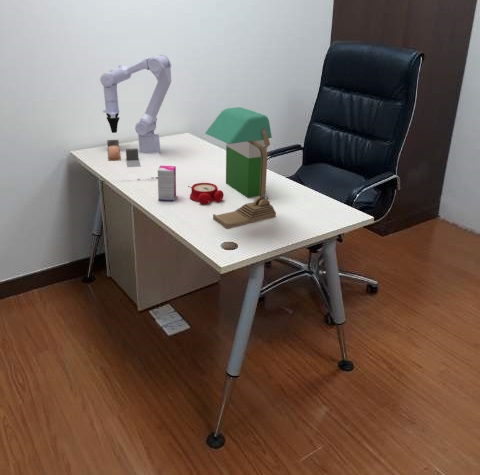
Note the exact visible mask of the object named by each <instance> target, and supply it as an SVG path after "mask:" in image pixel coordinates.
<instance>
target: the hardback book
mask: <svg viewBox="0 0 480 475" xmlns="http://www.w3.org/2000/svg"><path fill="white" fill-rule="evenodd" d="M254 141H256V142H257V143H259V144H260V145H262V146H263V147H264V146H265V143H264V139H261V140H254ZM225 152H226V153H225V158H226V159H225V184H226V185H227V186H229V187H230V188H232V189H234V190H235V191H237V192H238V193H239V194H241V195H242V196H244V197H245V198H247V199H250V198H255V197H256V198H257V197H260V177H261V153H260V150H259V149H258V148H257V147H256V146H254V145H252V144H250V143H249V142H240V143H233V144H228V143H226V146H225ZM266 152H267V153H268V147H267V148H266Z"/></svg>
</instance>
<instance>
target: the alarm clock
mask: <svg viewBox="0 0 480 475" xmlns="http://www.w3.org/2000/svg"><path fill="white" fill-rule="evenodd" d="M187 187H188V188H190V189H191V193H190V195H189V199H191V201H193V202H197V203H199V204H200V205H204V206H205V205H208V204H209V203H212V202H214V203H215V202H217V203H220V202H222V201H223V200H224V197H225V196H224V195H225V194H224V192H223V191H222V190H220V189H219V188H218V185H216V184H214V183H211V182H198V183H195V184H193V185H192V186H189V185H188V186H187Z"/></svg>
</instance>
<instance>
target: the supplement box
mask: <svg viewBox="0 0 480 475" xmlns="http://www.w3.org/2000/svg"><path fill="white" fill-rule="evenodd" d="M176 167H177V166H174V165H160V166H159V167H158V168H157V177H158V179H157V194H158V199H157V200H158V201H159V202H175V199H176V197H177V174H176V173H177V170H176V169H177V168H176Z"/></svg>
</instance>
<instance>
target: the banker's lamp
mask: <svg viewBox="0 0 480 475" xmlns="http://www.w3.org/2000/svg"><path fill="white" fill-rule="evenodd" d="M270 124H271V123H270V120H269V118H268V116H267V115H266V114H262V113H260V112H256V111H254V110H251V109H247V108H244V107H228V108H225V109H223V110H222V111H220V113H219V114H218V115H217V116H216V118H215V119H214V121H213V122H212V123H211V125H210V126H209V127H208V128H207V130H206V131H205V132H204V134H206V135H208V136H210V137H212V138H214V139H217V140H219V141H221V142H222V143H228V144H233V143H240V142H249V143H250V144H252V145H254V146H256V147H257V148H258V149H259V150H260V153H261V177H260V196H257V197H256V198H255V199H254V201H253V202H247V203H244V204H242V206H240V207H238V208H237V209H235V210H234V211H230V212H225V213H221V214H212V220H213V221H215V222H216V223H217V224H219V225H221V226H222V227H223V228H225V229H231V228H236V227H238V226H239V227H240V226H242V225H247V224H251V223H256V222H259V221H264V220H266V219H271V218H275V217H276V216H277V212H276V210H275V208H274V206H273V205H272V204H271V203H270V201H269V198H268V196H266V189H267V173H268V172H267V171H268V168H267V167H268V151H267V152H266V148H267V149H268V147H269V146H270V145H271V143H270V139H271V138H273V136H272V129H271V125H270ZM261 139H264V143H265V146H264V147H263V146H262V145H260V144H259V143H257V142H256V141H254V140H261Z"/></svg>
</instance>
